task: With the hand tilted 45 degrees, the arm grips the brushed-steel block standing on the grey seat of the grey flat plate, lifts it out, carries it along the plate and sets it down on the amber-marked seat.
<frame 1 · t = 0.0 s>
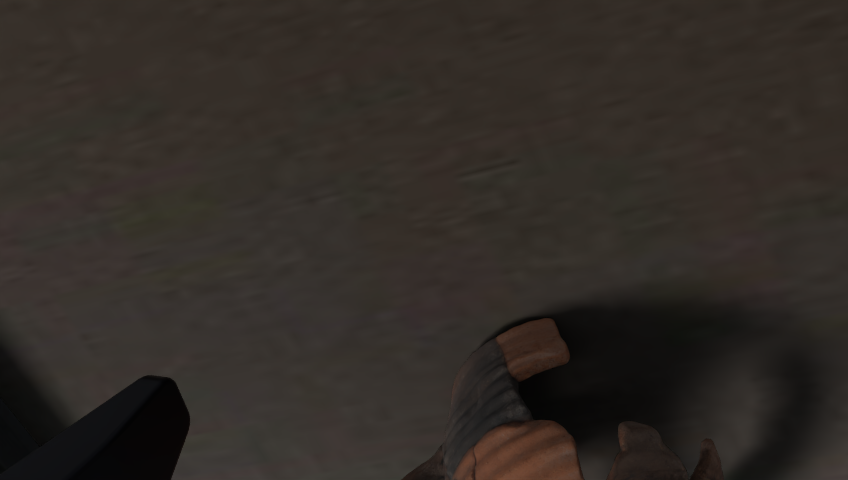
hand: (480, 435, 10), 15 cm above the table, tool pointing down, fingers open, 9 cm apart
pottery mug: (549, 434, 29), on the table
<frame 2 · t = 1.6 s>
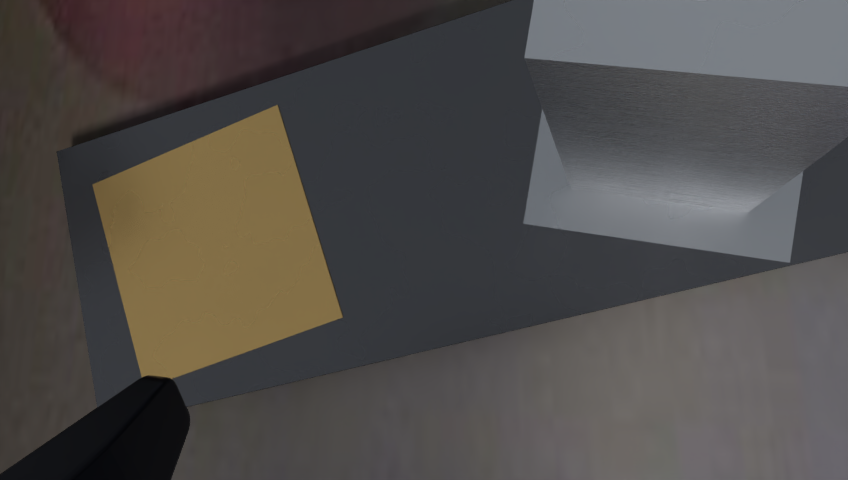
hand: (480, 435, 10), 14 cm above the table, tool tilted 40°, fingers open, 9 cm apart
steel block: (670, 116, 22), point 1 cm above the table, touching grey flat plate
grey flat plate: (430, 190, 25), on the table
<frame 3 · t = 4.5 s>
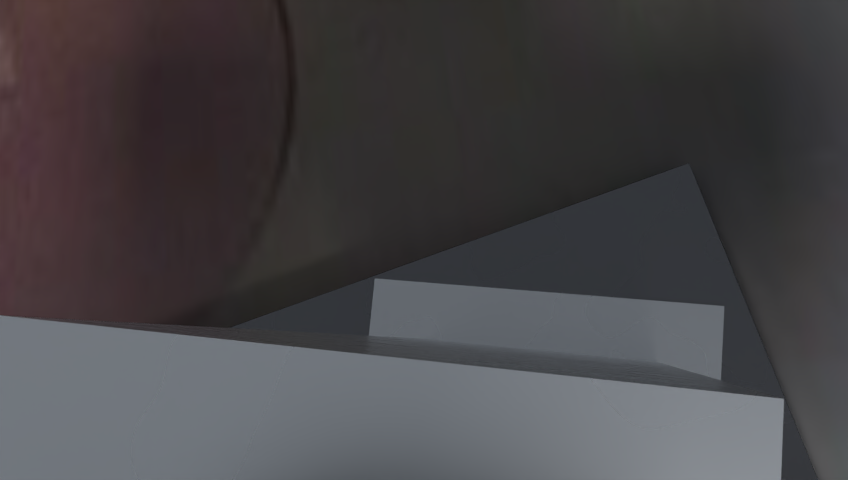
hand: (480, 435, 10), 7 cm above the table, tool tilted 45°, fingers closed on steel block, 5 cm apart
steel block: (525, 469, 16), point 1 cm above the table, touching gripper, grey flat plate
when the fingers open (8 cm above the table, at t = 8.2 s): steel block drops 1 cm, resting on grey flat plate.
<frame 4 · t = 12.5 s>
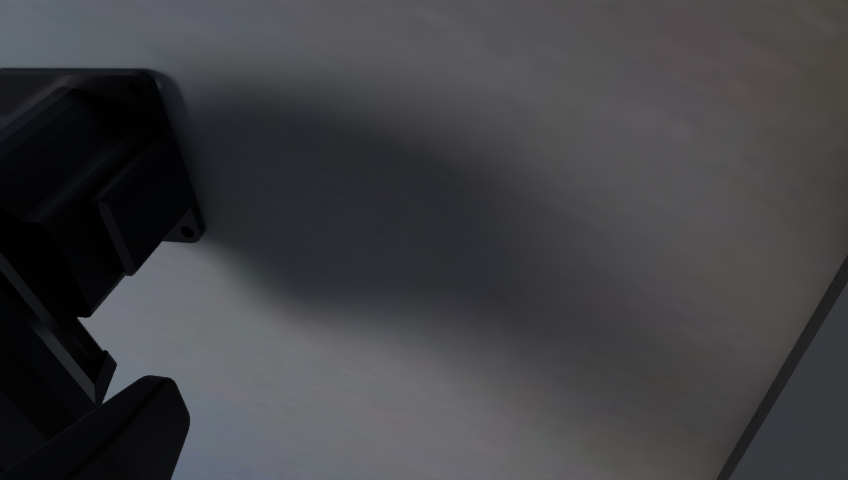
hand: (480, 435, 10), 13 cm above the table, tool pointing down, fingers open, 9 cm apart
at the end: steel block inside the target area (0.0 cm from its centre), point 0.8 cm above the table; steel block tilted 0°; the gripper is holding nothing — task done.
